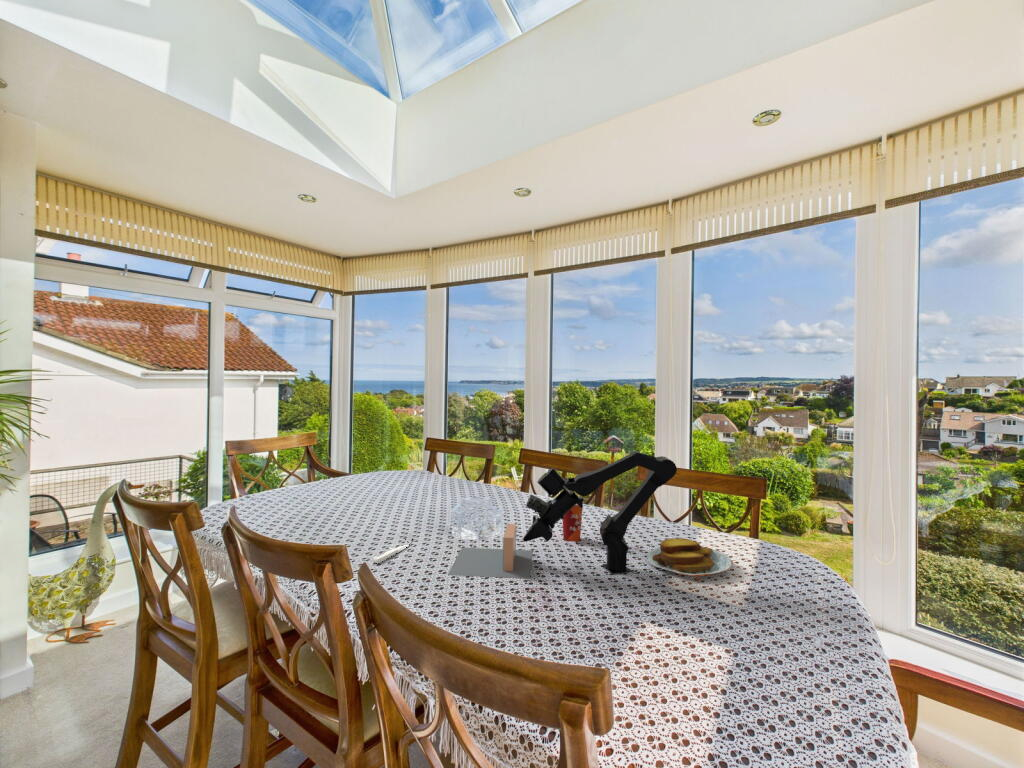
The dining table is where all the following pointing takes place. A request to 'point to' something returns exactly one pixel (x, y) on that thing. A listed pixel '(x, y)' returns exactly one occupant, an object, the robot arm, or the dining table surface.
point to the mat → (490, 563)
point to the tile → (509, 547)
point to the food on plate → (688, 558)
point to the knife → (388, 554)
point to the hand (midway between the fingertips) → (523, 540)
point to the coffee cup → (572, 524)
